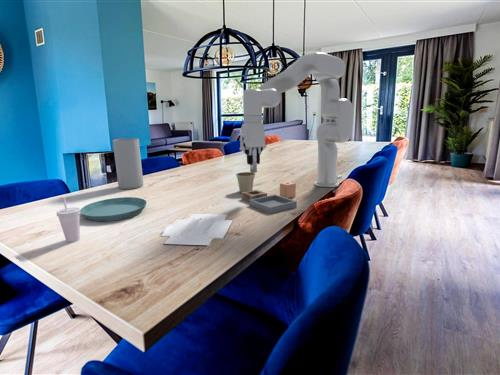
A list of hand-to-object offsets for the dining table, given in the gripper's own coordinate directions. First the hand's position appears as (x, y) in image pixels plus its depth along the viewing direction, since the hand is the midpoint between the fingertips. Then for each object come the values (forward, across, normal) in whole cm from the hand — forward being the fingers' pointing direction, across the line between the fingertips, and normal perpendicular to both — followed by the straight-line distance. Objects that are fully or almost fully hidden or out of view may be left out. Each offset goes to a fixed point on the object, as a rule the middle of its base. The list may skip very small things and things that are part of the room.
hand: (253, 163), depth 135 cm
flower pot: (+16, -5, -14) cm, 22 cm away
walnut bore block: (+16, 0, 0) cm, 16 cm away
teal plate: (+17, +54, -19) cm, 59 cm away
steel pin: (+4, 0, 0) cm, 4 cm away
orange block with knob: (+16, -15, +5) cm, 23 cm away
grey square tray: (+16, 0, +13) cm, 21 cm away
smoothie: (+17, +71, +2) cm, 73 cm away
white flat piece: (+17, +35, +17) cm, 42 cm away
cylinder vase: (+16, +37, -61) cm, 73 cm away
